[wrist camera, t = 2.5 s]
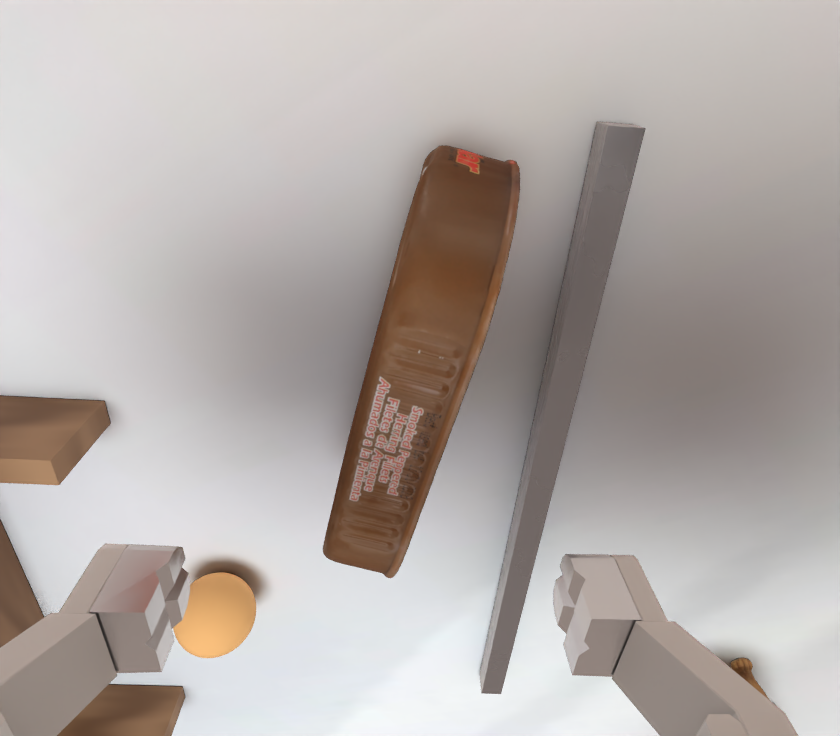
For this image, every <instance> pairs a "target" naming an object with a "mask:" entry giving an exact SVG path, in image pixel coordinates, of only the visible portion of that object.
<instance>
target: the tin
mask: <svg viewBox="0 0 840 736" xmlns="http://www.w3.org/2000/svg"><path fill="white" fill-rule="evenodd" d="M519 193H520V173H519V166H518V165H517V162H515V161H513V160H507V161H505V162H503V161H500V160H496V159H492V158H488V157H485V156H481V155H478V154H475V153H472V152H469V151H466V150H462V149H459V148H454V147H450V146H439V147H437V148H436V149H435V150H433V151H432V152H431V153H430V154H429V155H428V156H427V158H426V159H425V162H424V164H423V168H422V172H421V176H420V180H419V182H418V185H417V188H416V191H415V194H414V197H413V201H412V204H411V207H410V210H409V213H408V217H407V220H406V224H405V227H404V231H403V234H402V238H401V241H400V245H399V249H398V253H397V257H396V261H395V265H394V269H393V272H392V276H391V280H390V284H389V288H388V291H387V295H386V299H385V302H384V306H383V310H382V313H381V317H380V321H379V324H378V328H377V332H376V336H375V340H374V343H373V347H372V351H371V355H370V358H369V362H368V366H367V370H366V373H365V377H364V381H363V385H362V389H361V393H360V396H359V400H358V404H357V408H356V411H355V415H354V419H353V423H352V426H351V430H350V434H349V438H348V442H347V446H346V451H345V455H344V459H343V463H342V467H341V471H340V476H339V480H338V484H337V488H336V493H335V498H334V502H333V506H332V510H331V515H330V519H329V523H328V527H327V531H326V536H325V541H324V546H323V553H324V555H325V556H326V557H327V558H328V559H330V560H333V561H335V562H338V563H342V564H346V565H351V566H355V567H359V568H363V569H367V570H371V571H376V572H380V573H383V574H384V575H385V576H386V577H388V578H392V577H394V576H395V574H396V573H397V572H398V570H399V567H400V566H401V563H402V561H403V558H404V556H405V554H406V552H407V549H408V547H409V544H410V541H411V538H412V535H413V533H414V530H415V528H416V525H417V522H418V519H419V516H420V513H421V511H422V509H423V506H424V503H425V501H426V498H427V495H428V493H429V489H430V486H431V484H432V482H433V479H434V476H435V473H436V470H437V468H438V465H439V462H440V460H441V457H442V454H443V452H444V449H445V447H446V444H447V441H448V438H449V435H450V433H451V430H452V427H453V425H454V422H455V420H456V417H457V415H458V412H459V409H460V406H461V403H462V400H463V398H464V395H465V393H466V390H467V388H468V385H469V382H470V379H471V377H472V375H473V372H474V369H475V366H476V364H477V361H478V358H479V355H480V353H481V350H482V347H483V344H484V341H485V338H486V335H487V332H488V329H489V326H490V322H491V319H492V316H493V312H494V308H495V305H496V301H497V298H498V295H499V292H500V289H501V284H502V281H503V274H504V271H505V267H506V263H507V260H508V255H509V250H510V246H511V242H512V239H513V233H514V227H515V222H516V217H517V209H518V202H519Z"/></svg>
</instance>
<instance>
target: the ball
mask: <svg viewBox="0 0 840 736" xmlns="http://www.w3.org/2000/svg"><path fill="white" fill-rule="evenodd" d="M255 616H256V602H255V598H254V594H253V592H252V590H251V588H250V587H249V586H248V584H247V583H246V582H245V581H244V580H242V579H241V578H240V577H238V576H236V575H233V574H230V573H224V572H218V573H211V574H208V575H205V576H203V577H201V578H199V579H197V580H195V581H194V582H193V583H192V584H190V595H189V600H188V605H187V609H186V611H185V614H184V617H183V619H182V621H181V622H179V623H178V624H177V625H176V626H175V627H173V629H174V633H175V636H176V638H177V640H178V642H179V644H180V645H181V646H182V647H183V648H184V649H185V650H186V651H187V652H189V653H191V654H192V655H195V656H198V657H202V658H214V657H219V656H222V655H225V654H227V653H229V652H231V651H233V650H234V649H235V648H237V647H238V646H239V645H240V644H241V643H242V642H243V641H244V640H245V639H246V637H247V636H248V634H249V633H250V631H251V629H252V626H253V624H254V621H255Z"/></svg>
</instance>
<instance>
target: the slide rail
mask: <svg viewBox="0 0 840 736" xmlns="http://www.w3.org/2000/svg"><path fill="white" fill-rule="evenodd" d="M644 132H645V128H643V127H640V126H636V125H633V124H622V123H609V122H597V124H596V128H595V133H594V138H593V142H592V147H591V152H590V157H589V161H588V166H587V171H586V175H585V180H584V185H583V190H582V194H581V199H580V204H579V208H578V213H577V218H576V222H575V227H574V232H573V237H572V241H571V246H570V251H569V255H568V260H567V265H566V269H565V274H564V279H563V284H562V288H561V293H560V298H559V302H558V307H557V312H556V316H555V321H554V326H553V331H552V335H551V340H550V345H549V349H548V354H547V359H546V364H545V368H544V373H543V378H542V382H541V387H540V392H539V396H538V401H537V406H536V411H535V415H534V420H533V425H532V429H531V434H530V439H529V443H528V448H527V453H526V458H525V462H524V467H523V472H522V476H521V481H520V486H519V491H518V495H517V500H516V505H515V509H514V514H513V519H512V523H511V528H510V533H509V538H508V542H507V547H506V552H505V556H504V561H503V566H502V570H501V575H500V580H499V585H498V589H497V594H496V599H495V603H494V608H493V613H492V617H491V622H490V627H489V632H488V636H487V641H486V646H485V650H484V655H483V660H482V665H481V669H480V683H481V693H489V694H501V692H502V688H503V684H504V680H505V676H506V672H507V668H508V664H509V660H510V656H511V653H512V649H513V645H514V641H515V637H516V633H517V629H518V625H519V621H520V617H521V613H522V609H523V606H524V602H525V598H526V594H527V590H528V586H529V582H530V578H531V574H532V570H533V566H534V562H535V559H536V555H537V551H538V547H539V543H540V539H541V535H542V531H543V527H544V523H545V519H546V515H547V512H548V508H549V504H550V500H551V496H552V492H553V488H554V484H555V480H556V476H557V472H558V469H559V465H560V461H561V457H562V453H563V449H564V445H565V441H566V437H567V433H568V429H569V425H570V422H571V418H572V414H573V410H574V406H575V402H576V398H577V394H578V390H579V386H580V382H581V378H582V375H583V371H584V367H585V363H586V359H587V355H588V351H589V347H590V343H591V339H592V335H593V332H594V328H595V324H596V320H597V316H598V312H599V308H600V304H601V300H602V296H603V292H604V288H605V285H606V281H607V277H608V273H609V269H610V265H611V261H612V257H613V253H614V249H615V245H616V241H617V238H618V234H619V230H620V226H621V222H622V218H623V214H624V210H625V206H626V202H627V198H628V194H629V191H630V187H631V183H632V179H633V175H634V171H635V167H636V163H637V159H638V155H639V151H640V148H641V144H642V140H643V136H644Z"/></svg>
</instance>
